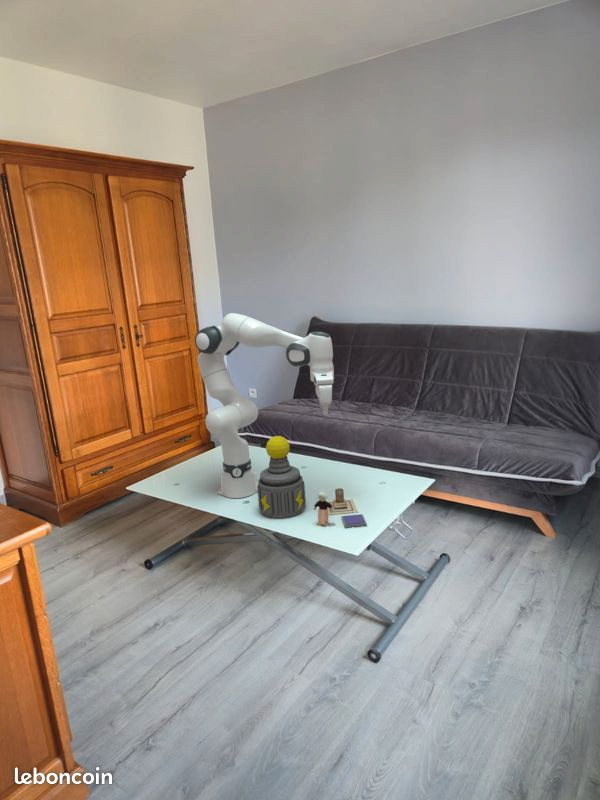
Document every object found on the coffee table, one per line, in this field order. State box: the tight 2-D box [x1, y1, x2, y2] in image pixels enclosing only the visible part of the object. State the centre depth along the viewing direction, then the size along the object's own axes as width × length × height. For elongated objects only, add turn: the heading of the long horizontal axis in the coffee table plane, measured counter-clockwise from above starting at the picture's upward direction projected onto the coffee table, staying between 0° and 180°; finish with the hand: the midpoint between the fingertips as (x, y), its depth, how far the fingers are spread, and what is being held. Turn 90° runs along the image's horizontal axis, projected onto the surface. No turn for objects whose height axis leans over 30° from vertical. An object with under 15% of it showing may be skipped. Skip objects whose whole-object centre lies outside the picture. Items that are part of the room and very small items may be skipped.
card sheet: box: [327, 498, 359, 516], centre depth 211 cm, size 12×12×1 cm
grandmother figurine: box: [313, 491, 334, 527], centre depth 196 cm, size 8×4×13 cm, turn 81°
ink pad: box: [341, 513, 368, 529], centre depth 197 cm, size 8×8×1 cm
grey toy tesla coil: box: [257, 435, 306, 519], centre depth 210 cm, size 19×19×30 cm
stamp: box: [332, 487, 347, 510], centre depth 210 cm, size 5×5×7 cm
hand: (323, 411), depth 205 cm, fingers open, 8 cm apart
